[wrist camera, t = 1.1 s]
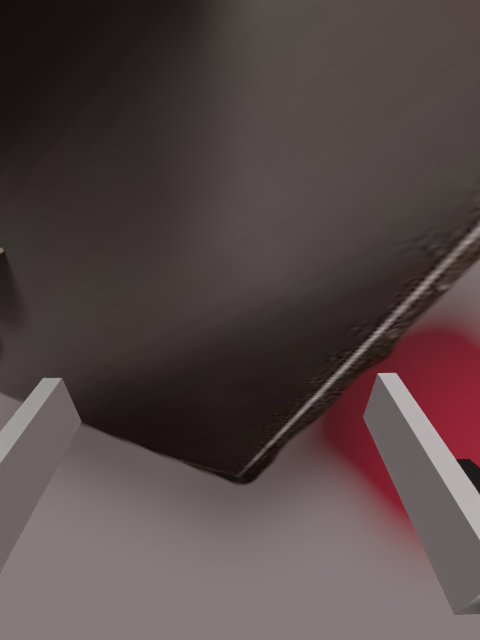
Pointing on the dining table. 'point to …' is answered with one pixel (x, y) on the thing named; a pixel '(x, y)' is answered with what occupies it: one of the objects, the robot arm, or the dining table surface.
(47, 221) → the dining table surface
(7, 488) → the robot arm
